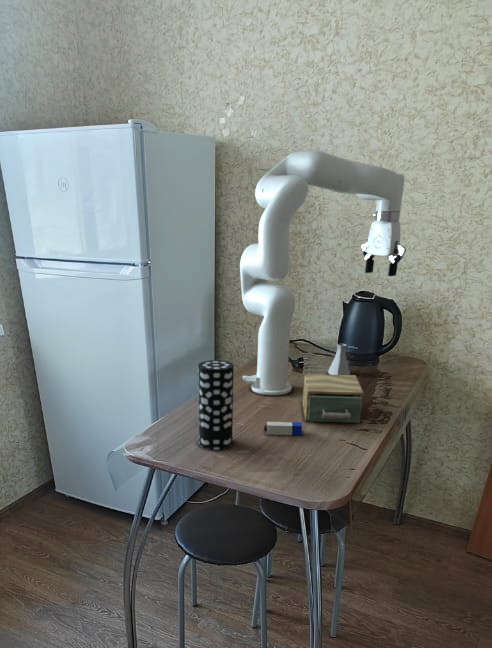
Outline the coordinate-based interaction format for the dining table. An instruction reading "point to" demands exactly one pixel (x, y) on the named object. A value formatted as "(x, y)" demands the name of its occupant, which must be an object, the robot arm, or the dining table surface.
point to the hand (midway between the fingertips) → (380, 274)
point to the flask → (340, 362)
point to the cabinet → (329, 388)
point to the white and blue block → (283, 428)
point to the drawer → (334, 408)
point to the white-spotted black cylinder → (215, 404)
